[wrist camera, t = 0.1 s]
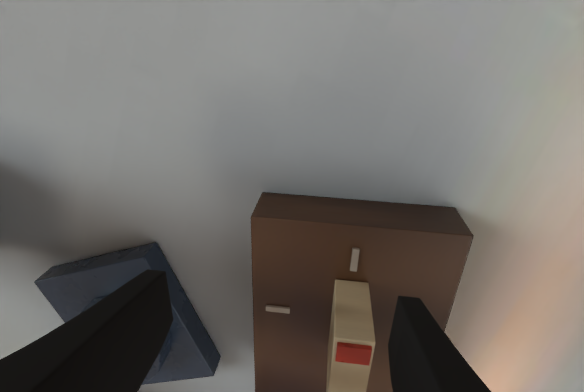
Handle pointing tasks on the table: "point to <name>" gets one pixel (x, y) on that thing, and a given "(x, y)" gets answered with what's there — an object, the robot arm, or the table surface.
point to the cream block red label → (350, 338)
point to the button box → (115, 273)
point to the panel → (343, 277)
